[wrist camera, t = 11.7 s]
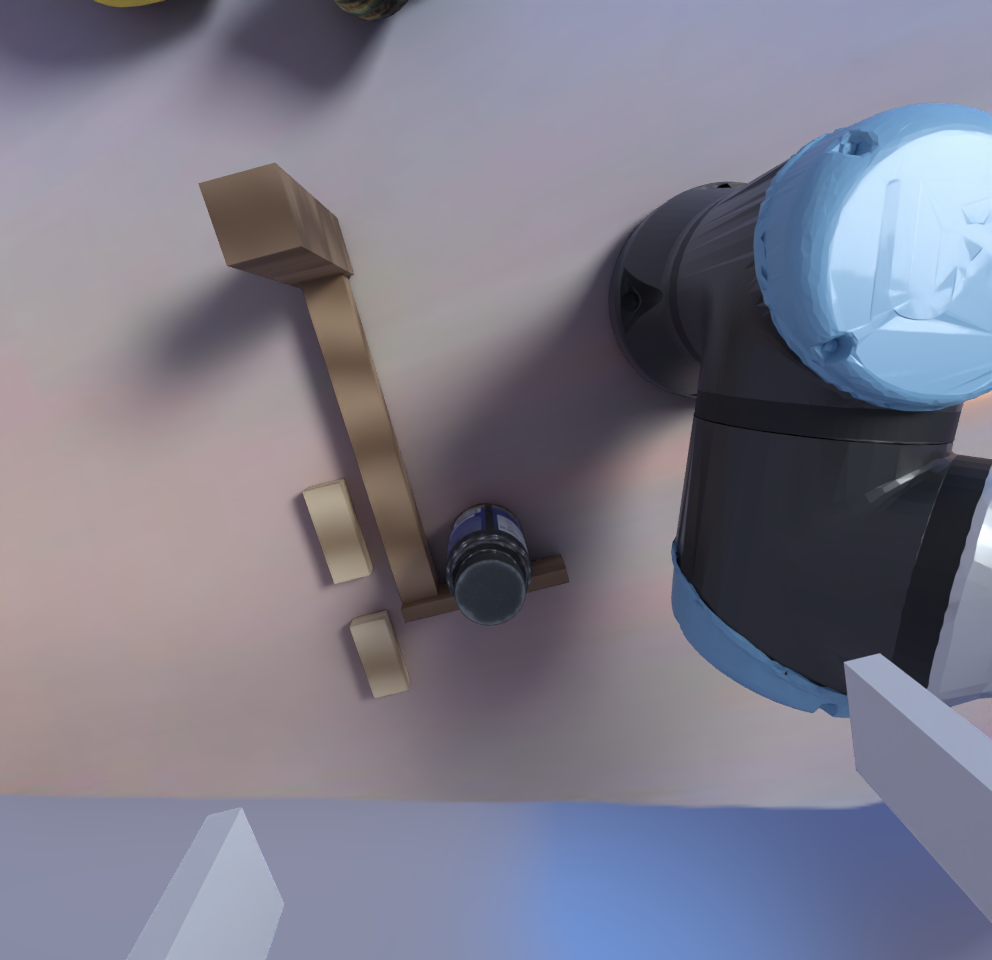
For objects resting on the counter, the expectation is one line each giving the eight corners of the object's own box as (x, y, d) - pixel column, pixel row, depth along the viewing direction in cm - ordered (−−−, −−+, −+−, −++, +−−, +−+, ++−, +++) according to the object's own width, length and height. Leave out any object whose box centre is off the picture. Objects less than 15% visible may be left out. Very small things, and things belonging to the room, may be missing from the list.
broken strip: (308, 487, 46) (302, 492, 44) (344, 478, 46) (339, 482, 44) (377, 687, 50) (374, 698, 49) (410, 679, 50) (407, 690, 49)
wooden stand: (284, 232, 41) (198, 183, 28) (471, 181, 41) (469, 109, 28) (403, 607, 48) (378, 701, 36) (563, 567, 48) (594, 648, 35)
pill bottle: (451, 571, 48) (443, 637, 37) (447, 502, 47) (439, 550, 36) (523, 569, 48) (537, 634, 37) (522, 500, 47) (536, 547, 36)
